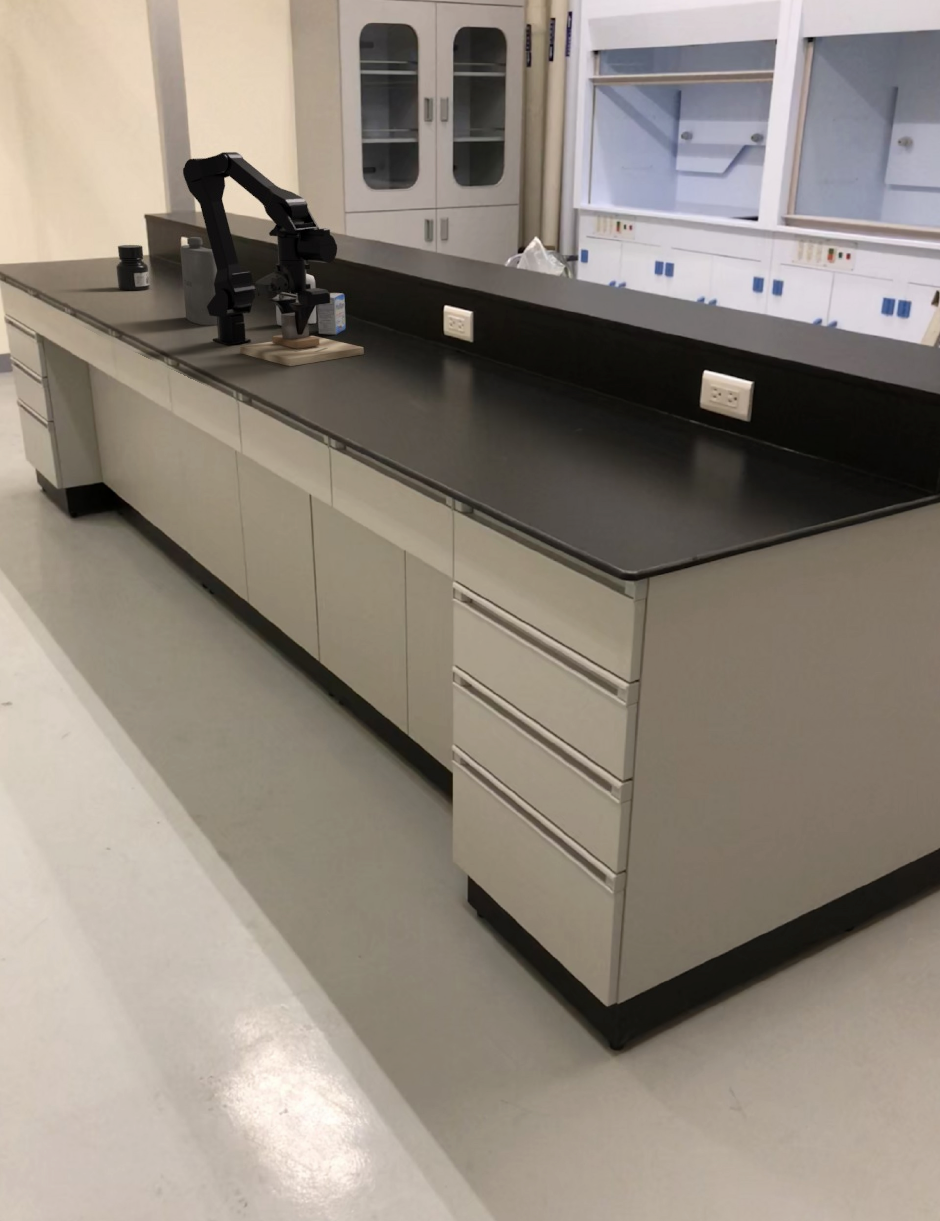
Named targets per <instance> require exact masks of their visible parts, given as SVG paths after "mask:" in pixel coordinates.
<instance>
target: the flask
mask: <svg viewBox="0 0 940 1221" xmlns="http://www.w3.org/2000/svg"><path fill="white" fill-rule="evenodd" d="M186 241H187V242H186V243H187V244H184V245H181V246H180V247H179V249H180V260H181V272H182V283H183V286H182V287H183V296H184V310H185V318H186V319H187V320H188V321H189V322H191V323H192V324H193V323H194V324H197V325H200V326H205V327H206V326H208V327H210V326H211V327H212V326H217V316H210V315H209V312H208V309H207V305H208V304H209V303H210V301H211V300H212V298H213V297H214V296H215V288H214V281H215V277H216V273H217V267H216V264H215V260H214V256H213V252H212V248H207V247H204V246H203V247H202V245H203V238H202V237H199V236H190V237H188V238H187V239H186Z"/></svg>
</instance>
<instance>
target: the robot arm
mask: <svg viewBox="0 0 940 1221" xmlns="http://www.w3.org/2000/svg"><path fill="white" fill-rule="evenodd" d="M182 174H183V178H184V181H185V184H186V186H187V188H188V190H189V192H190V194H191V195H192V196H193V197H194V198H195V200H196V201H197V202H198V203H199V206H200V210H201V213H202V217H203V221H204V224H205V229H206V232H207V236H208V241H209V244H210V249H212V252H213V256H214V260H215V264H216V267H217V273H216V277H215V281H214V288H215V296H214V297H213V298H212V300H211V301H210V303H209V304H208V305H207V309H208V312H209V315H210V316H217V325H216V326H217V327H216V328H217V337H216V338H212V342H216V343H219V344H224V345H235V344H236V345H237V344H244V343H250V342H252V339H251V338H248V337H246V323H245V316H244V314H250V313H251V311H252V307H253V302H254V300H255V298H256V296H255V291H256V290H257V296H259V297H260V298H263V297H264V298H267V299H269V301H270V302H271V303H273V304H274V305H275V307H276V306H278V307H279V309H280V312H281V314H288V313H295V321H296V329H297V334H298V335H302V334H303V332H304V329H305V327H306V325H307V322H308V320H309V318H310V315H311V313H312V312H313V310H314V308H315V306H316V307H317V305H319V304H327V303H330V293H331V292H329V290H327V289H326V288H325V289H324V288H320V287H315V288H312V289H311V284H307V283H306V274H307V270H311V263H307V262H313V263H314V262H315V263H316V262H317V263H325V264H331V263H332V262H333V261H334V260H335V259H336V257H337V252H338V244H337V243H336V239H335V238H334V236H333V235H331V229H330V228H326V227H323V228H320V227H319V225H318V224H317V221H316V220H315V218H314V217H313V215H312V213H311V211H310V209H309V208H308V202H307V200H305V198H303V197H301V196H300V195H299V194H297V193H294V192H292V191H289V190H287V189H284V188H281V187H279V186H278V185H276V184H275V183H274V182H272V181H271V180H270V179H269V178H268V177H266V176H265V175H264V174H263V173H261V171H259V170H258V169H256V168H255V167H254V166H253V165H251V164H250V163H249V162H248V161H247V160H245V159H244V157H243V155H242V154H241V153H239V152H236V151H231V152H227V151H226V152H225V151H224V152H221V153H218V154H216V155H212V156H209V157H204V158H203V157H202V158H198V157H196V158H189V159H188V160H187V161H186V162H185V164H184V167H183V168H182ZM229 177H230V178H231V179H232V180H233V181H235V183H237V184H238V185H239V186H240V187H242V188H243V189H244V190H245V191H247V192H248V193H249V194H250V195H251V196H253V197H254V198H255V199H256V200H258V201H259V202H260V203H261V205H263V207H264V210H265V211H264V212H265V214H267V216H268V217H269V218H270V219H271V221H272V222H274V224H275V226H274V227H273V228H272V229H271V230H270V231H269V232H268V235H269V236H270V237H276V238H277V255H278V256H277V258H278V259H277V260H278V263H274V266H273V272H272V273H269V274H267V275H265V276H263V277H262V278H259V279H258V280H256V281H255V285H254V283H253V282H254V281H253V275H252V273H251V271H244V270H243V268H242V267H241V266H240V264H239V261H238V256H237V253H236V248H235V244H234V241H233V237H232V233H231V229H230V226H229V220H228V217H227V213H226V209H225V205H224V202H223V196H224V192H225V188H226V181H225V179H226V178H229ZM306 261H307V262H306ZM255 286H256V287H255ZM290 292H291V293H290ZM296 293H297V294H296Z"/></svg>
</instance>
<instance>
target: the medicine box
mask: <svg viewBox="0 0 940 1221" xmlns="http://www.w3.org/2000/svg"><path fill="white" fill-rule="evenodd" d="M329 293H330V303H327V304H319V305H316V309H317V324H318V326H317V328H318V334H319V335H321V334H322V335H330V336H334V335H335V336H336V335H338V334H339V333H342V332H343V331H345V330H346V308H345V307H346V302H345V298H346V297H345V294H344V293H343V292H341V293H340V292H329Z"/></svg>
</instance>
